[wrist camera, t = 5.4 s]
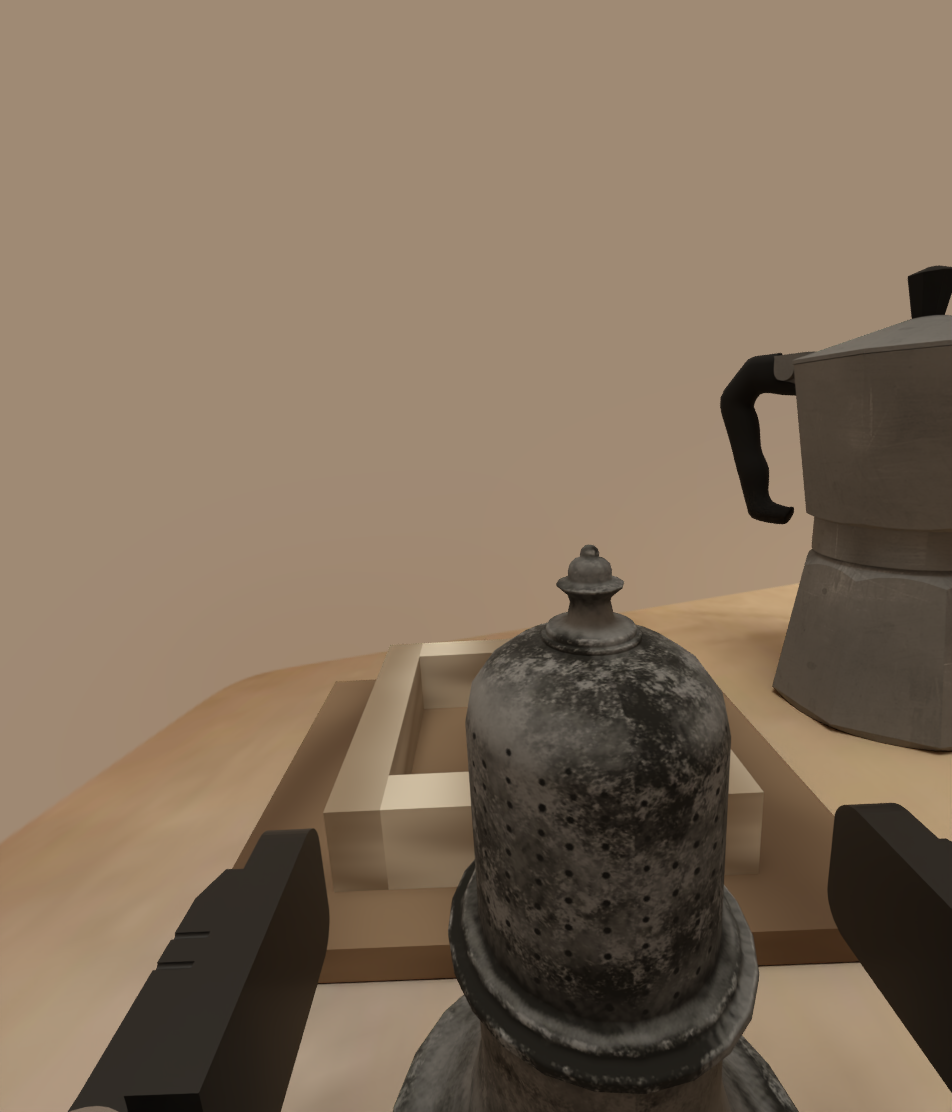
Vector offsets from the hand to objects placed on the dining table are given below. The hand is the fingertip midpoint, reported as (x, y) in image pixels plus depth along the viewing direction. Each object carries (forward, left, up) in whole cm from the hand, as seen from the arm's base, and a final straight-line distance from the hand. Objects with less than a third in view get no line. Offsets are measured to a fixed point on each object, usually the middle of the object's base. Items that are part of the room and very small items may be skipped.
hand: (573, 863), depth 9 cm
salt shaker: (0, +2, -7) cm, 7 cm away
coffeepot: (-16, -17, -7) cm, 24 cm away
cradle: (0, -11, -7) cm, 13 cm away
